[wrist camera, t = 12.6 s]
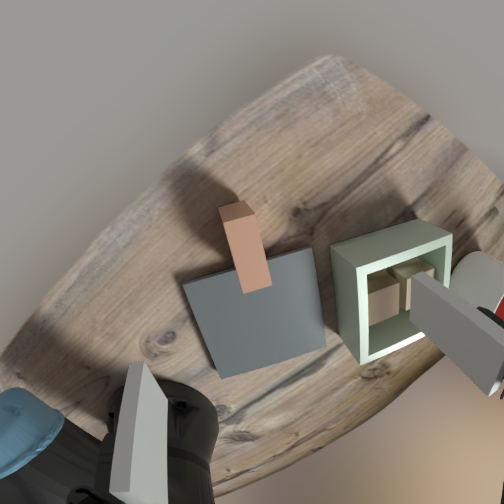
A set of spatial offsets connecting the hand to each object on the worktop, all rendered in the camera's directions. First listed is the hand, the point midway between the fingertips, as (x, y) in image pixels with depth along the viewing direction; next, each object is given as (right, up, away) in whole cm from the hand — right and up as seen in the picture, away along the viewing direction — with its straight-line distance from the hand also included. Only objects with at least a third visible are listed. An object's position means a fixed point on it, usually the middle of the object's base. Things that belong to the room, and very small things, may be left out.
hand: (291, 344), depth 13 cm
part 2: (+16, +1, +20) cm, 25 cm away
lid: (-2, 0, +18) cm, 18 cm away
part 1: (+11, 0, +19) cm, 22 cm away
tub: (+13, +1, +20) cm, 24 cm away
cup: (+30, 0, +24) cm, 38 cm away
